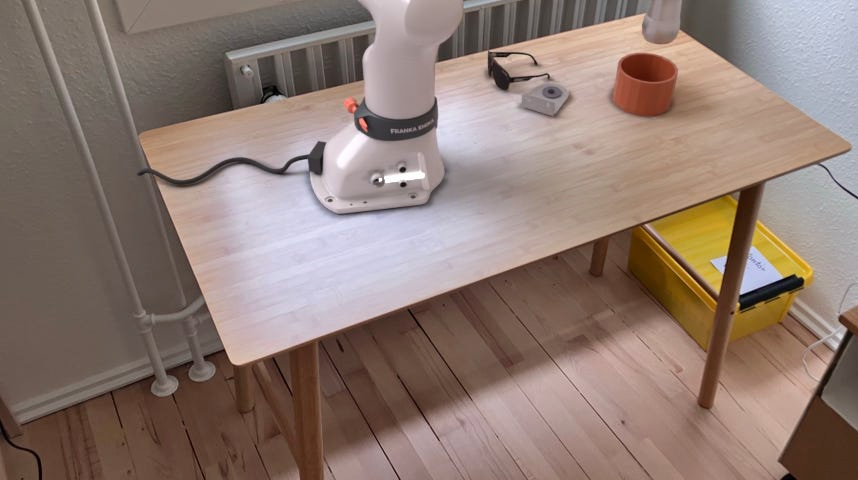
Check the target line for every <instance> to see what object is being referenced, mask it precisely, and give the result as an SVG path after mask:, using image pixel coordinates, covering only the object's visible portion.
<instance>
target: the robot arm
mask: <svg viewBox="0 0 858 480" xmlns="http://www.w3.org/2000/svg"><path fill="white" fill-rule="evenodd" d="M356 1H357V2H358V3H359V4H360V5H362V7H364V8H365V9H366V10H367V11H368V12H369V13H370V15H371V17H372V20H373V22H374V27H375V35H374V39H373V42H372V43H371V44H370V45H368V47H367V48H366V50H365V51H364V53H363V56H362V59H361V61H362V62H361V63H362V72H363V73H362V76H363V77H362V78H363V89H364V91H363V92H364V96H363V98H362V101H361V102H360V104H359V103H358V101H357V99H356V98H354V97H347V98H346V99H345V101H344V102H343V105H344V108H346V110H347V113H349V114H352V115H353V120H352V121H351V122H350V123H348V124H347V125H346V126H345V127H343V128H342V129H341V130H340V131H338V132H337V133H336V134H335V135H333V136H332V137H330V138H329V139H328V140H327V142H326V141H321V140H317V142H316V144H315V145H314V147H313V148H312V149H311V151H310V152H309V153H307V154H301V155H297V156H294V157H292V158H290V159H288V160H287V161H286V163H285V164H284V165H283V166H282V167H280V168H271V167H268V166H266V165H264V164H262V163H260V162H258V161H256V160H255V159H252V158H249V157H244V156H238V157H237V156H236V157H230V158H227V159H224V160H222V161H220V162H218V163H216V164H214V165H213V166H212V167H210V168H209V169H207V170H206V171H204V172H202V173H201V174H198V175H197V176H195V177H192V178H188V179H175V178H172V177H169V176H167V175H165V174H163V173H161V172H159V171H158V170H156V169H154V168H149V167H147V168H143V169H140V170H139V171H138V172H137V173H136V176H138V177H140V176H143V175H145V174H151V175H154V176H155V177H157V178H159V179H161V180H163V181H165V182H166V183H167V182H168V183H170V184H173V185H177V186H183V185H184V186H185V185H191V184H194V183H197V182H199V181H202V180H203V179H206V178H207V177H209V176H210V175H211V174H213V173H214V172H216V171H217V170H219V169H220V168H222V167H224V166H226V165H229V164H232V163H247V164H249V165H253V166H255V167H256V168H258V169H260V170H262V171H264V172H267V173H270V174H276V175H277V174H283V173H285V172H286V171H287V170H288V169H289V168H290V167H291V165H293V164H294V163H296V162H299V161H303V160H305V161H306V160H307V164H308V172H309V176H310V177H309V179H310V185H311V188H312V191H313V192H314V195H315V196H316V199H318V201H319V202H320V203H321V204H322V206H323V207H325V208H326V209H327V210H329V211H331V212H333V213H334V214H338V215H339V214H340V215H341V214H351V213H359V212H368V211H376V210H385V209H394V208H395V209H396V208H403V207H411V206H421V205H425V204H426V203H427V202H428V201H429V199H430V197H431V194H432V192H433V191H434V190H435V188H437V187H438V186H439V185H440V184H441V183H442V181H443V180H444V177H445V166H444V163H443V160H442V157H441V153H440V149H439V145H438V144H439V143H438V137H437V128H438V125H439V124H438V121H439V105H438V98H437V96H436V62H437V55H438V53H439V52H438V51H439V48H440V46H441V44H443V43H445V42H446V41H448V39H450V37H452V35H454V33H455V32H456V31H457V29H458V27H459V26H460V24H461V22H462V19H463V15H464V7H465V6H464V5H465V4H464V0H356Z"/></svg>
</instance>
